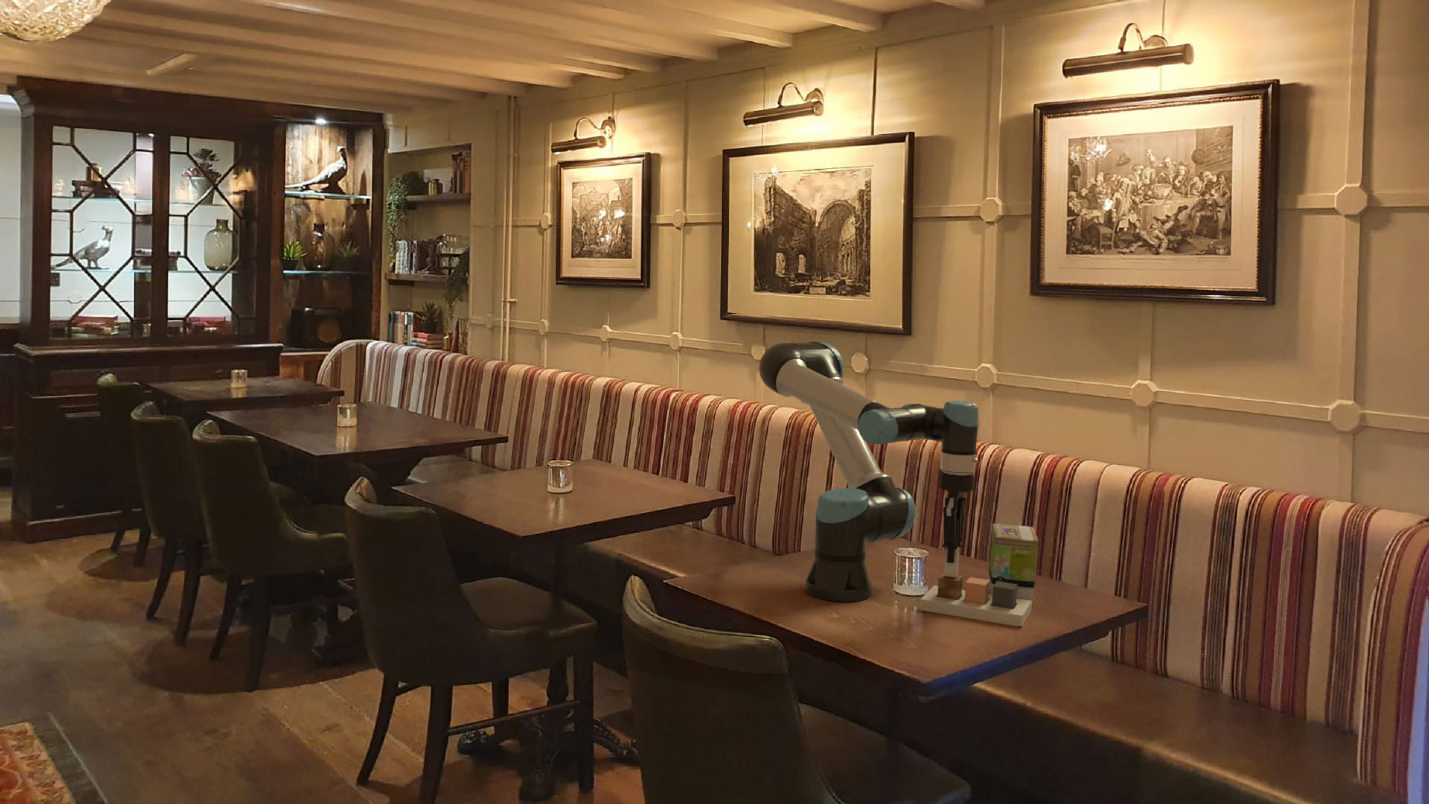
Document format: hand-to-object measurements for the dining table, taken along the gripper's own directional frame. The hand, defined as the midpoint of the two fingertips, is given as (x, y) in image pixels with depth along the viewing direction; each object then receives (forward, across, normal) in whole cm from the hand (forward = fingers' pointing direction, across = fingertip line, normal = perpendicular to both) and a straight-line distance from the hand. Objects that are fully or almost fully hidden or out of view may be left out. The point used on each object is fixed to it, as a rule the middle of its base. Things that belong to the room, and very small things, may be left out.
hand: (950, 575), depth 247 cm
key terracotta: (+5, 0, -6) cm, 8 cm away
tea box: (+7, +19, -10) cm, 23 cm away
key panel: (+7, 0, -6) cm, 9 cm away
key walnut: (+5, 0, 0) cm, 5 cm away
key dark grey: (+5, 0, -12) cm, 13 cm away
